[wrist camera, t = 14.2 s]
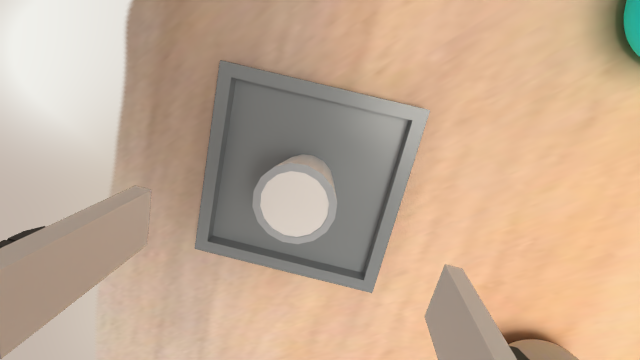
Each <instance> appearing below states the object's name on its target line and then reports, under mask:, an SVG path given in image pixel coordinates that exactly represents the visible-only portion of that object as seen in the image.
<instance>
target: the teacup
mask: <svg viewBox="0 0 640 360" xmlns="http://www.w3.org/2000/svg"><path fill="white" fill-rule="evenodd" d="M508 345H509V346H513V347H517V348H518V349H519V350H520V351H521V352H522V353H524V354H525V355H526V356H527V357H528V358H529V359H530V360H578V359H577V358H576V357H575V356H574V355H573V354H571V353H570V352H569V351H567V350H566V349H564V348H562V347H560V346H559V345H556V344H554V343H551V342H548V341H544V340H537V339H527V340H520V341H516V342H513V343H510V344H508Z"/></svg>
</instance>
